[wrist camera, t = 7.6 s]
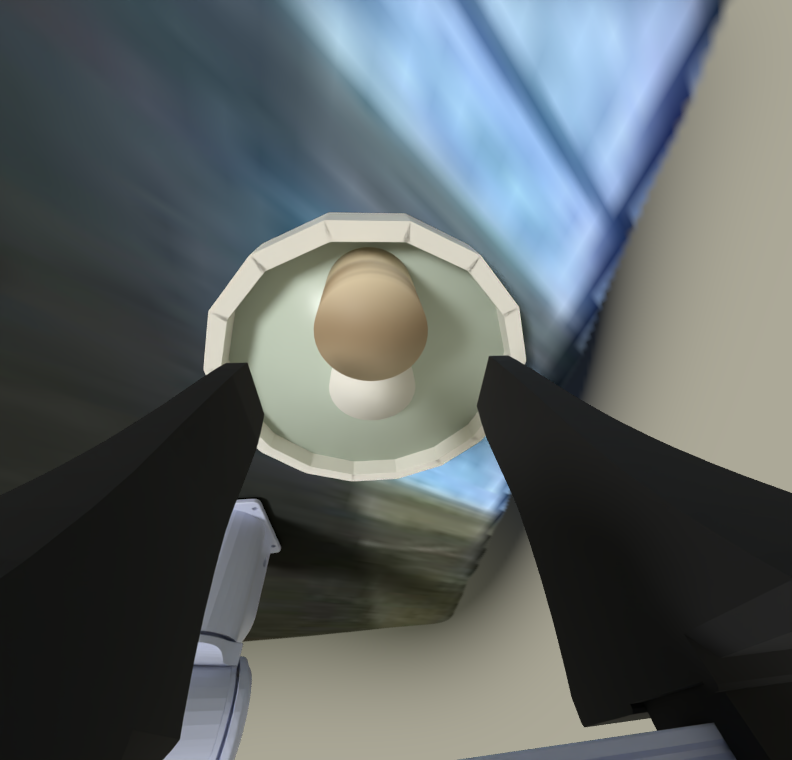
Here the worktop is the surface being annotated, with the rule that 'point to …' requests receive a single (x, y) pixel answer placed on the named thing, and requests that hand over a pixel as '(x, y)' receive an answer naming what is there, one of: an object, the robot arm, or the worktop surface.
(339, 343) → the maple bead
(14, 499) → the robot arm
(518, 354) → the groove tray
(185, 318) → the worktop surface
